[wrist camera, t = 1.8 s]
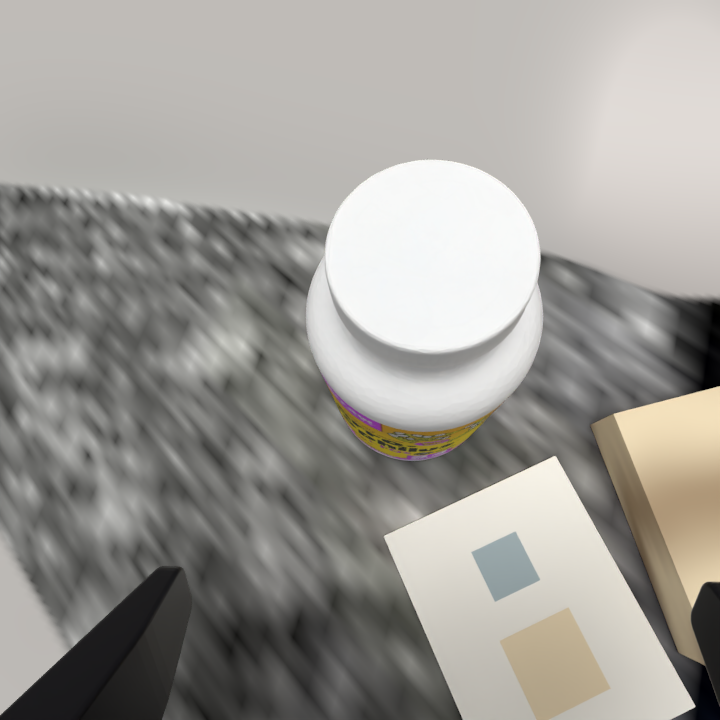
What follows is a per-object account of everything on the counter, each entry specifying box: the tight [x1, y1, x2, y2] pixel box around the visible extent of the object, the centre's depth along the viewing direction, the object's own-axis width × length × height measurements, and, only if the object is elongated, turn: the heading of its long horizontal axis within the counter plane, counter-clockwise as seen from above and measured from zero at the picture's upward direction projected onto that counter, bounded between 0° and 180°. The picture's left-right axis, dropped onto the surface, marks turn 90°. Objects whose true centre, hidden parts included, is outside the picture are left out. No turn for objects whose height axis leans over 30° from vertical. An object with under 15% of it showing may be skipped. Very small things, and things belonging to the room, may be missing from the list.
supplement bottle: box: [306, 160, 543, 461], centre depth 17 cm, size 7×7×13 cm
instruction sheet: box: [384, 456, 696, 720], centre depth 20 cm, size 10×8×1 cm
